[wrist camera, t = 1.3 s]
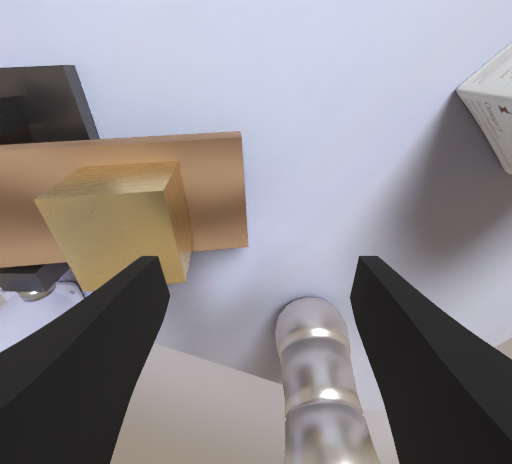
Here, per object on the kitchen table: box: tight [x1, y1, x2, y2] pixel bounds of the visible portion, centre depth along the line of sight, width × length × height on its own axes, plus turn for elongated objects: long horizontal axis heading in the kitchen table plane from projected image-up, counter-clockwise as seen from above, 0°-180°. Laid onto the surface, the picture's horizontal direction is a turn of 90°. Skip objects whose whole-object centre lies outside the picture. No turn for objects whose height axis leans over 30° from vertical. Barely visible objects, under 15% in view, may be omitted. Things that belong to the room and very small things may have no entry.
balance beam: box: [0, 131, 248, 268], centre depth 16 cm, size 7×30×4 cm, turn 92°
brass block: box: [34, 161, 194, 292], centre depth 13 cm, size 5×5×4 cm
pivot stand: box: [0, 65, 100, 302], centre depth 17 cm, size 14×10×6 cm
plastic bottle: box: [275, 297, 380, 464], centre depth 17 cm, size 6×7×20 cm
